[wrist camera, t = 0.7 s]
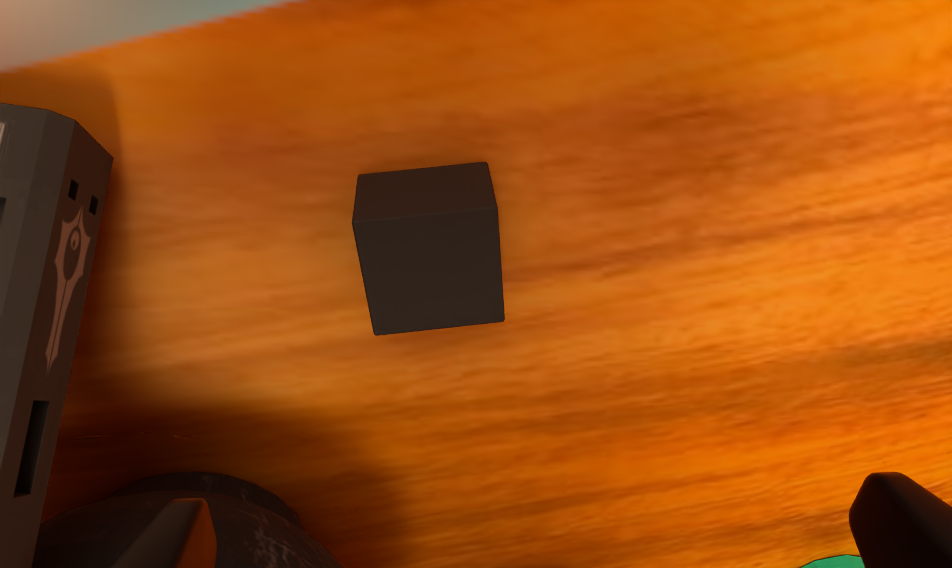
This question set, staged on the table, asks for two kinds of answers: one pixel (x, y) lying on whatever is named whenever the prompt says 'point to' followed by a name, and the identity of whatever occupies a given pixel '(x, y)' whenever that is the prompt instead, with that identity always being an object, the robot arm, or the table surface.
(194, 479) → the bowl
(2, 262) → the geiger counter
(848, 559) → the candle
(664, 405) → the table surface
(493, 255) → the black block
